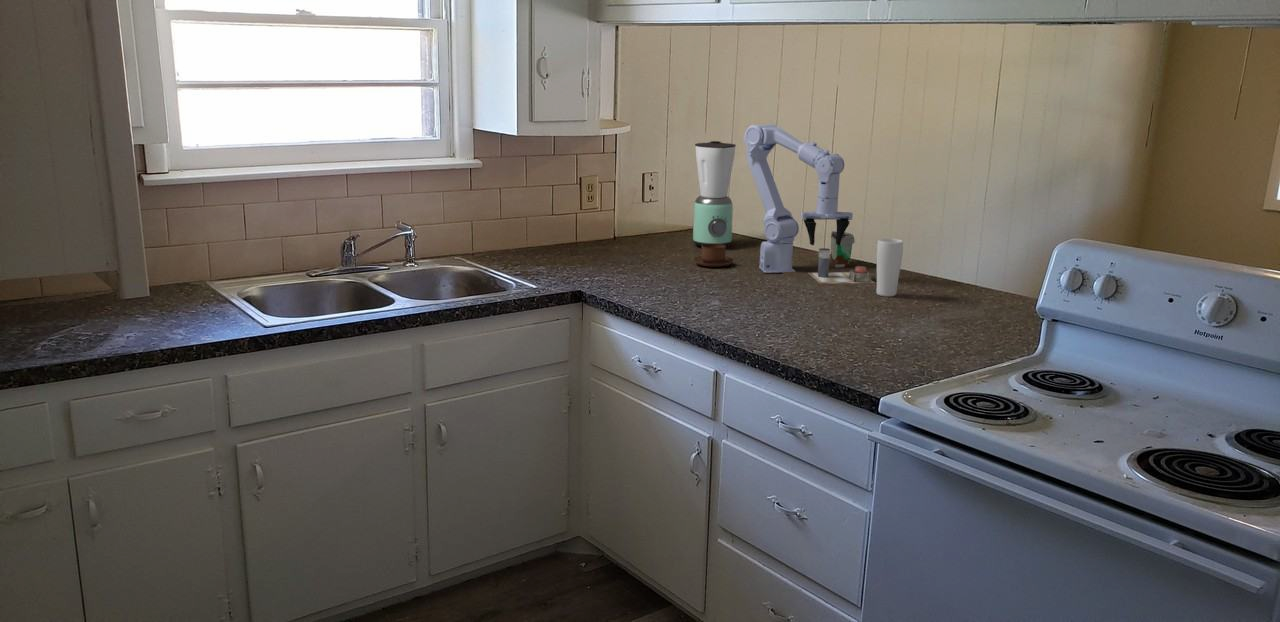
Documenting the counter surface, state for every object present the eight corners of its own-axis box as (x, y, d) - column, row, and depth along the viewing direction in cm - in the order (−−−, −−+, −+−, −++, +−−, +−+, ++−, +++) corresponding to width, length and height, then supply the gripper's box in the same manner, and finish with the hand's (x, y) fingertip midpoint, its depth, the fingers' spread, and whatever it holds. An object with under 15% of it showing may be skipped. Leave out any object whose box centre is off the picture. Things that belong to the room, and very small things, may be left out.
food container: (856, 271, 297) (858, 238, 294) (836, 270, 297) (838, 238, 294) (848, 262, 309) (851, 231, 306) (829, 262, 309) (831, 231, 306)
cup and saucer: (688, 262, 307) (688, 243, 305) (724, 260, 310) (725, 241, 308) (701, 270, 296) (701, 250, 294) (738, 268, 299) (739, 248, 297)
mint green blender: (738, 250, 326) (742, 143, 317) (699, 251, 323) (702, 143, 314) (722, 240, 344) (725, 138, 335) (685, 240, 341) (687, 138, 332)
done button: (856, 275, 280) (857, 268, 279) (853, 273, 283) (853, 266, 282) (866, 275, 280) (867, 268, 280) (863, 272, 283) (864, 266, 283)
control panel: (820, 285, 277) (820, 275, 277) (807, 274, 291) (808, 264, 290) (875, 284, 279) (876, 274, 278) (860, 274, 292) (860, 264, 292)
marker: (819, 277, 284) (820, 250, 282) (816, 275, 287) (817, 248, 285) (829, 277, 284) (831, 250, 282) (826, 275, 287) (828, 248, 285)
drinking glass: (884, 298, 263) (889, 243, 259) (868, 293, 269) (872, 239, 265) (904, 296, 266) (908, 241, 262) (887, 291, 272) (891, 237, 268)
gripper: (806, 199, 275) (803, 247, 278) (857, 199, 276) (853, 247, 280) (800, 195, 282) (797, 242, 285) (849, 195, 283) (846, 242, 287)
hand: (824, 244), depth 283 cm, fingers open, 7 cm apart
